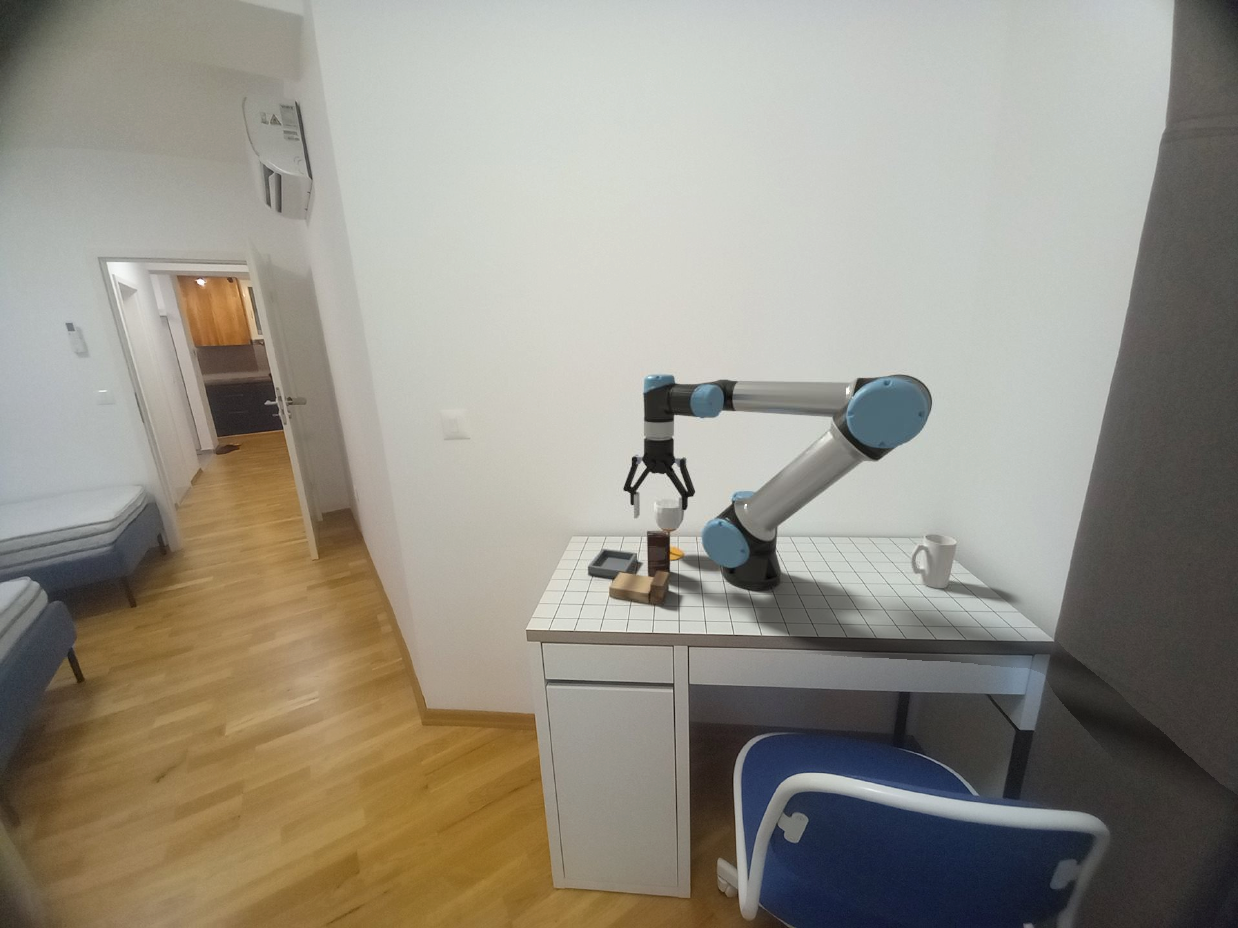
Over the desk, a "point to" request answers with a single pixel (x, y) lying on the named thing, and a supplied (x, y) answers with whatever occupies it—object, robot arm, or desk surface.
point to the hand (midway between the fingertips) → (658, 518)
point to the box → (658, 552)
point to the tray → (612, 563)
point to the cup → (668, 520)
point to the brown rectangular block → (659, 587)
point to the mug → (934, 560)
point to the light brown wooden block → (631, 587)
